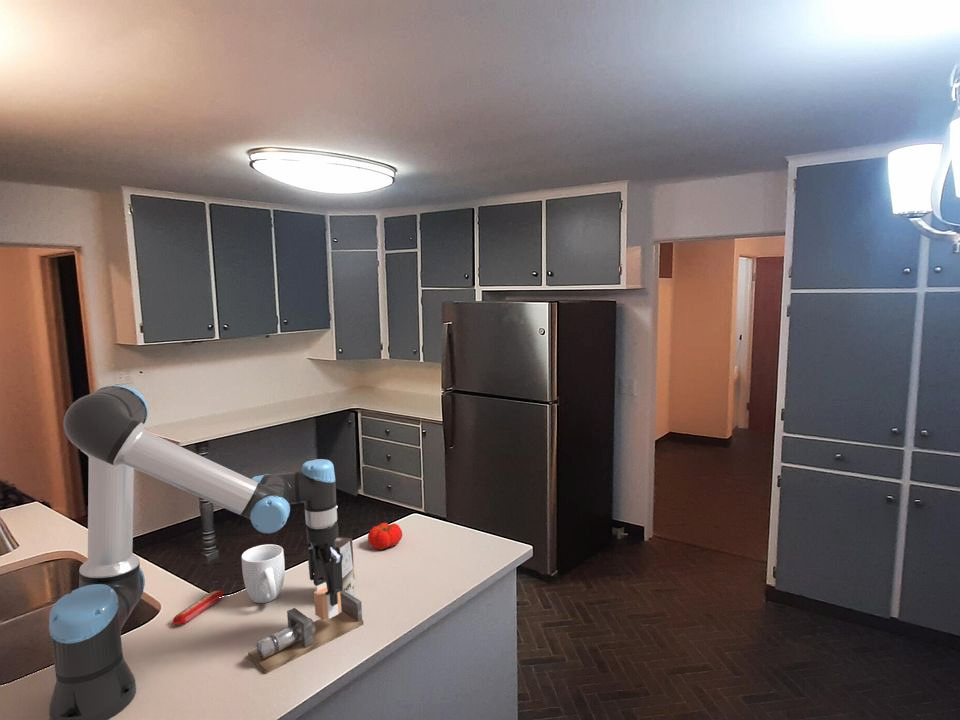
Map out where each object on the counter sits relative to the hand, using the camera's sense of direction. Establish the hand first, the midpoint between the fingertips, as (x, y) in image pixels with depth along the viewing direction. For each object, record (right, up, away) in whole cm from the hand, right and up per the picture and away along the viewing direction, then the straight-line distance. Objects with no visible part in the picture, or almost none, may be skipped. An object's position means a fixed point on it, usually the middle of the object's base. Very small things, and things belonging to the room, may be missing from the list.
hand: (327, 612), depth 147 cm
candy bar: (-37, -5, +11) cm, 39 cm away
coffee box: (-2, -3, +17) cm, 17 cm away
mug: (-21, -3, +16) cm, 27 cm away
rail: (-4, -5, -3) cm, 7 cm away
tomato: (+7, +1, +49) cm, 49 cm away
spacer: (0, 0, 0) cm, 0 cm away
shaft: (-8, -5, -7) cm, 12 cm away
